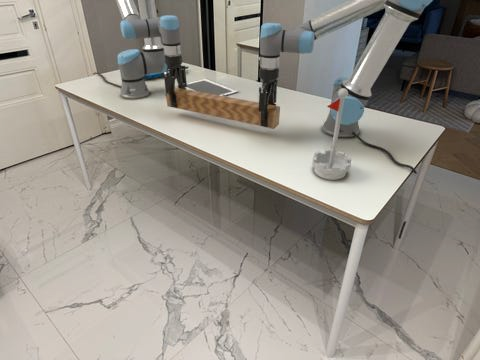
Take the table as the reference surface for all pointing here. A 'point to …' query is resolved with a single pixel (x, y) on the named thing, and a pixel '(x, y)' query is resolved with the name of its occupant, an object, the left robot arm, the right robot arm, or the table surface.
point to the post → (224, 107)
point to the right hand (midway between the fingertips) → (266, 123)
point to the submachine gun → (154, 75)
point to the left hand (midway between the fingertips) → (178, 104)
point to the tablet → (209, 87)
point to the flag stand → (333, 149)
